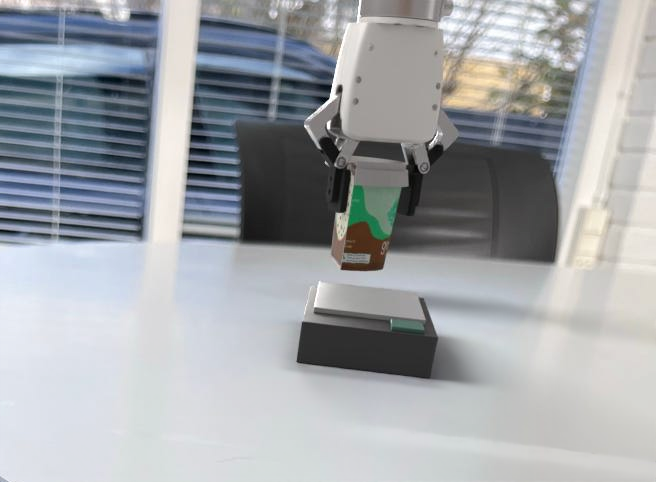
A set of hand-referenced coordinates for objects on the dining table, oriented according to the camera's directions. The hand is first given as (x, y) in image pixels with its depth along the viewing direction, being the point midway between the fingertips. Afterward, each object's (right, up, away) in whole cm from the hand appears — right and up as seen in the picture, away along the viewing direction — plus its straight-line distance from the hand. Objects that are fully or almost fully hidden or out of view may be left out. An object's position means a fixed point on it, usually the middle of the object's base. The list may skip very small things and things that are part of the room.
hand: (370, 211), depth 107 cm
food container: (0, -5, +3) cm, 5 cm away
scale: (-4, -19, -20) cm, 28 cm away
